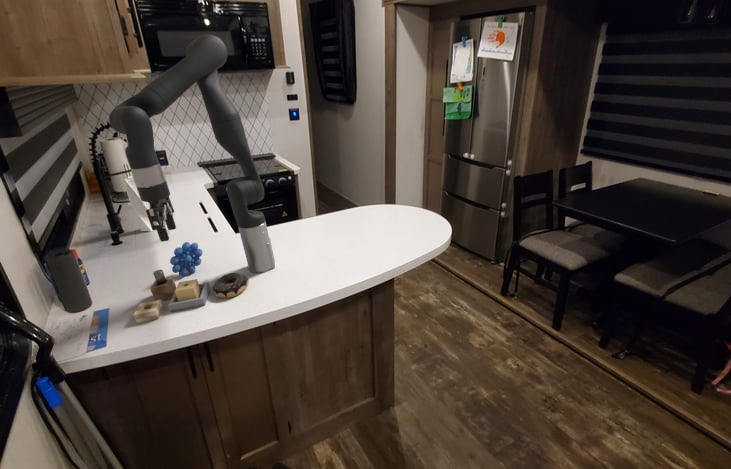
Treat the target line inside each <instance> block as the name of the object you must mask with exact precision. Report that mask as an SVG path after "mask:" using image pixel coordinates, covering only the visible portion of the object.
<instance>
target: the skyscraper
mask: <svg viewBox="0 0 731 469" xmlns="http://www.w3.org/2000/svg"><path fill="white" fill-rule="evenodd" d="M123 182H124V187H125V191H126V194H127V197H128V199H129V202H130V204H131V207H132V208H133V209H134V211H135V213H136V214H137V216H138V222H139V226H140V231H148V232H153V231H154V230H152V227H151V224H150V221H149V218H148V215H147V213H146V210H147V209H150V204H149V203H148V202H143V201H142V200H141V198H140V196H139V193H138V190H137V187H136V185H135V182H134V179H133V176H132V175H131V176H127V178H123Z"/></svg>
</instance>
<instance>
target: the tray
mask: <svg viewBox="0 0 731 469" xmlns="http://www.w3.org/2000/svg"><path fill="white" fill-rule="evenodd" d="M199 286H200V290H201V294H200V297H199V298H195V299H190V300H185V301H180V302H178V299H177V296H176V293H175V292H174V294H173V297H172V299H170V301H169V303H168V307H169V310H170V313H173V312H174V313H175V312H178V311H183V310H188V309H193V308H194V309H195V308H199V307H203V306H206V303H207V300H208V296H209V293H210V289H211V288H210V285H209V282H203V283H199Z"/></svg>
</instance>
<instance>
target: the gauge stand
mask: <svg viewBox="0 0 731 469" xmlns="http://www.w3.org/2000/svg"><path fill="white" fill-rule="evenodd" d="M163 310H164V305H163V301H161V300H156V301H155V300H153V301H152V300H151V301H146V302H142V303H139V304H138V306H137V308H136V310H135V312H134V313H133V317H134V320H135V321H136V324H139V323H144V322H145V323H146V322H150V321H154V320H159V318H160V316H161V315H162V312H163Z"/></svg>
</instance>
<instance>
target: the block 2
mask: <svg viewBox="0 0 731 469" xmlns="http://www.w3.org/2000/svg"><path fill="white" fill-rule="evenodd" d="M199 284H200V283H199V281H198V279H197V278H195V279H191V280H185V281H184V280H183V281H179V282H178V283H177V286H176V290H175V293H176V296H177V299H178V302H180V301H185V300H190V299H195V298H199V297H200V294H201V290H200V286H199Z"/></svg>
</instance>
